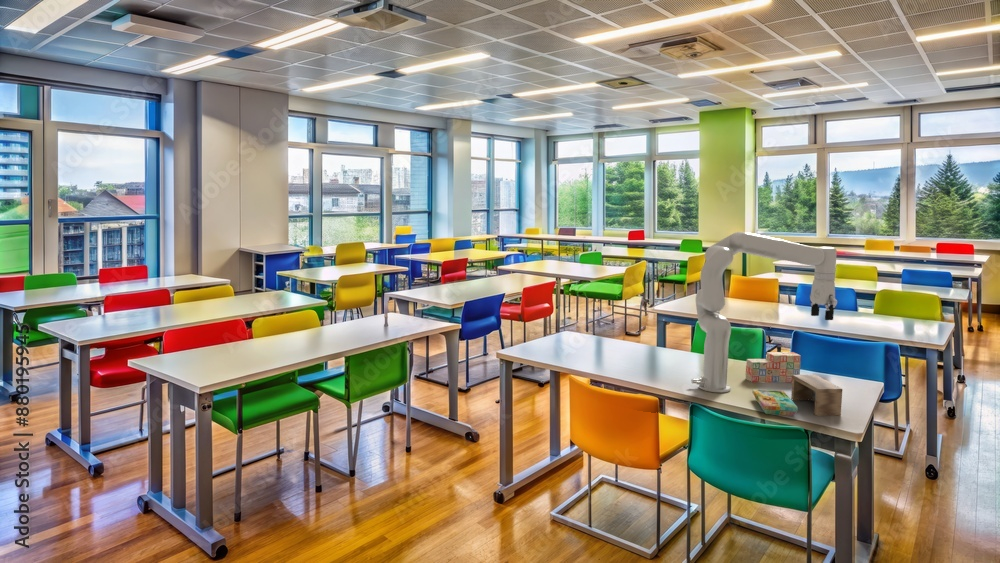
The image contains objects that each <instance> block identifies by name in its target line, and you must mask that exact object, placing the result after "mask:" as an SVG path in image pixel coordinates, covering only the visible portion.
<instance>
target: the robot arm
mask: <svg viewBox="0 0 1000 563" xmlns="http://www.w3.org/2000/svg"><path fill="white" fill-rule="evenodd" d="M837 252H838V251H837V248H835V247H832V246H819V247H815V246H812V245H811V246H810V245H806V244H800V243H797V242H791V241H788V240H785V239H781V238H775V237H771V236H766V235H761V234H757V233H752V232H746V231H735V232H733V233H732V234H729V235H727V236H726V237H724V238H723V239H720V240H719V241H717V242H715V243H713V244H712V245H710V246H709V247H708V248H707V249H706V250H705V252H704V259H705V262H704V264H703V266H702V268H701V270H700V289H698V291H697V292H696V296H695V307H696V315H697V321H698V325H699V327H700V329H701V331H703V332H705V333H706V334H705V340H704V346H703V348H704V349H703V370H702V372H703V374H702V376H700V377H699V378H691V379H690V380H691V384H696V385H698V388H699V389H701V390H702V391H704V392H705V391H706V392H709V393H728V392H730V391H731V386H730V384H728V368H729V367H728V366H729V364H728V362H729V342H730V337H731V333H732V326H731V325H732V324H731V323H730V321H729V320H728V319H727V317H726V316H723V315H721V314H720V313H721V311H722V310H723V309H724V307H725V305H726V299H725V298H726V297H725V292H724V284H723V275H724V272H725V270H726V269H727V268H728V267H729V266H730V265H731V264H732V263H733V260H734V256H735V255H737V254H738V253H742V254H743V253H744V254H748V255H753V256H758V257H762V258H767V259H772V260H777V261H785V262H786V261H787V262H792V263H798V264H801V265H807V266H809V267H810V266H811V267H814V277H813V280H812V284H811V290H810V294H809V299H810V300H809V301H810V306H811V310H810V316H811V317H818V316H820V306H824V307H825V309H826V310H825V311H824V312H825V315H824V320H825V321H834V312H835V311H836V308H837V304H838V300H837V299H836V285H835V281H836V267H837V254H838V253H837Z"/></svg>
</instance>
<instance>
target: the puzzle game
mask: <svg viewBox="0 0 1000 563" xmlns="http://www.w3.org/2000/svg"><path fill="white" fill-rule="evenodd" d="M752 394H753V396H754V399H755V400H756V402H757V403H758V404H759V406H760V407H761V409H762V411H763V412H764V413H765V415H775V416H776V415H777V416H788V417H789V416H792V417H793V416H794V415H795V414H796V413H798V411H799V410H798V409H799V407H798V405H796V404H795V403H794V400H792V399H791V397H789V396H788V394H786V392H785V391H783V390H782V391H781V390H779V391H778V390H768V389H767V390H764V389H752Z"/></svg>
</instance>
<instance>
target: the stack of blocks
mask: <svg viewBox="0 0 1000 563" xmlns="http://www.w3.org/2000/svg"><path fill="white" fill-rule="evenodd" d="M801 357H802V356H801V355H800V354H798V353H796V352H794V351H791V352H788V351H777V352H776V351H775V352H774V351H772V352H770V351H769V352H768V351H767V352H766V358H746V363H745V364H746V365H745V380H746V381H748V382H750V381H751V382H750V383H759V382H764V383H767V382H768V383H792V378H793V375H801V374H800V372H801V365H802V363H801Z"/></svg>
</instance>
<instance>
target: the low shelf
mask: <svg viewBox="0 0 1000 563" xmlns="http://www.w3.org/2000/svg"><path fill="white" fill-rule="evenodd" d="M791 383H792V384H791V394H790V395H791V396H790V399H791V400H792V399H793V400H792V401H812V400H813V402H814V401H815V402H814V412H813V414H814V415H815V416H841V415H842V404H843V403H842V401H843V400H842V399H843V388H842V387H839V386H837V385H836V384H834V383H832V382H830V381H828V380H826V379H824V378H823V377H821V376H819V375H817V374H800V375H793V378H792V382H791Z"/></svg>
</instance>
